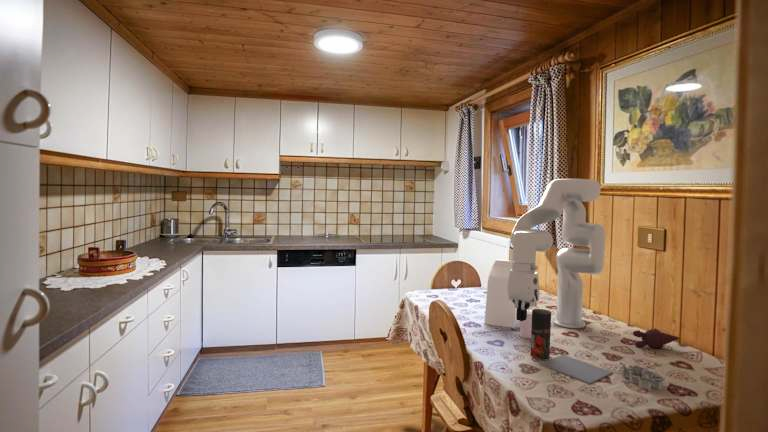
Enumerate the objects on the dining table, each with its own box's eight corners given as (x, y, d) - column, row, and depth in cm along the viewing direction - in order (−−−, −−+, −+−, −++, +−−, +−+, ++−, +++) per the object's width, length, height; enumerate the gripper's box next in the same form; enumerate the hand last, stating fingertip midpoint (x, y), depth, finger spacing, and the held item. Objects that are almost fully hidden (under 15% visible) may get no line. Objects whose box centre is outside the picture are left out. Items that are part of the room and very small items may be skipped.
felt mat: (562, 355, 137) (563, 354, 137) (612, 373, 124) (612, 372, 124) (539, 364, 129) (539, 363, 129) (589, 384, 116) (590, 382, 116)
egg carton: (616, 374, 124) (617, 361, 123) (640, 374, 124) (640, 360, 124) (642, 391, 113) (643, 376, 113) (667, 390, 114) (668, 376, 114)
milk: (484, 323, 169) (486, 261, 168) (488, 316, 180) (490, 257, 178) (514, 327, 164) (517, 263, 163) (517, 319, 175) (519, 259, 174)
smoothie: (536, 340, 150) (537, 302, 150) (517, 339, 152) (519, 301, 151) (533, 334, 157) (534, 298, 156) (515, 333, 158) (517, 297, 157)
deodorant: (553, 357, 135) (555, 312, 134) (541, 361, 132) (543, 315, 131) (537, 351, 140) (539, 308, 139) (526, 354, 137) (528, 310, 136)
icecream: (671, 327, 149) (627, 328, 151) (683, 328, 142) (637, 329, 144) (674, 347, 148) (630, 348, 149) (687, 349, 141) (640, 350, 142)
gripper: (549, 269, 136) (547, 324, 137) (512, 263, 149) (510, 313, 150) (536, 272, 132) (533, 328, 133) (498, 264, 144) (496, 316, 145)
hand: (521, 320), depth 141 cm, fingers closed
